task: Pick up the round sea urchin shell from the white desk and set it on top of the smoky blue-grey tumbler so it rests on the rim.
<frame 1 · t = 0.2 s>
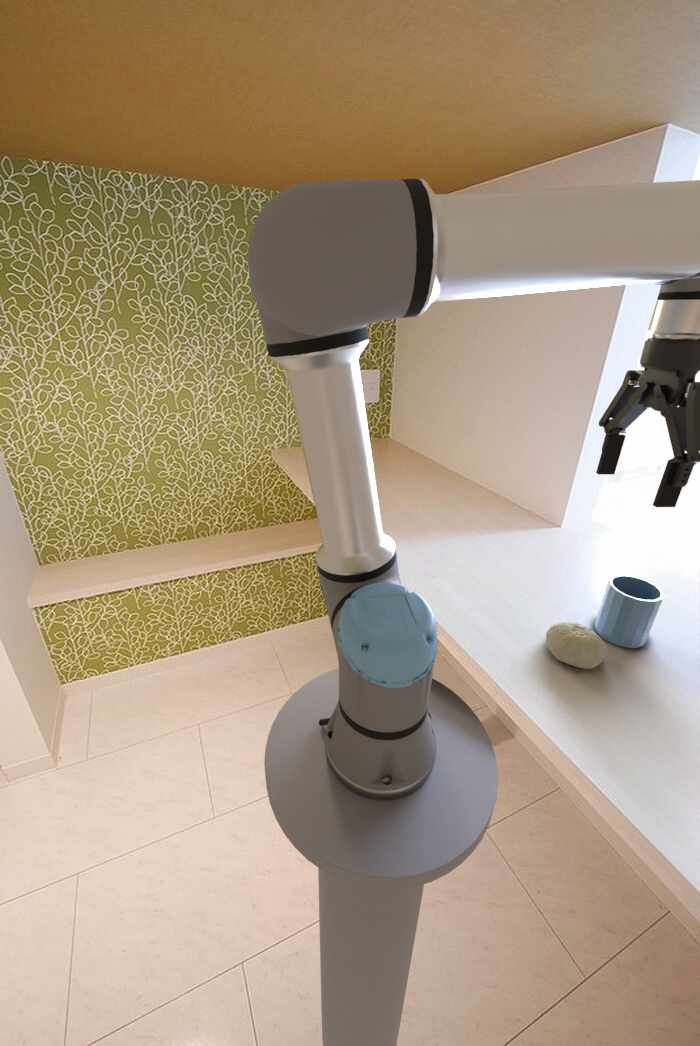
hand: (631, 488, 66), 29 cm above the table, tool pointing down, fingers open, 13 cm apart
tumbler: (619, 632, 80), on the table
sea urchin shell: (572, 654, 75), on the table
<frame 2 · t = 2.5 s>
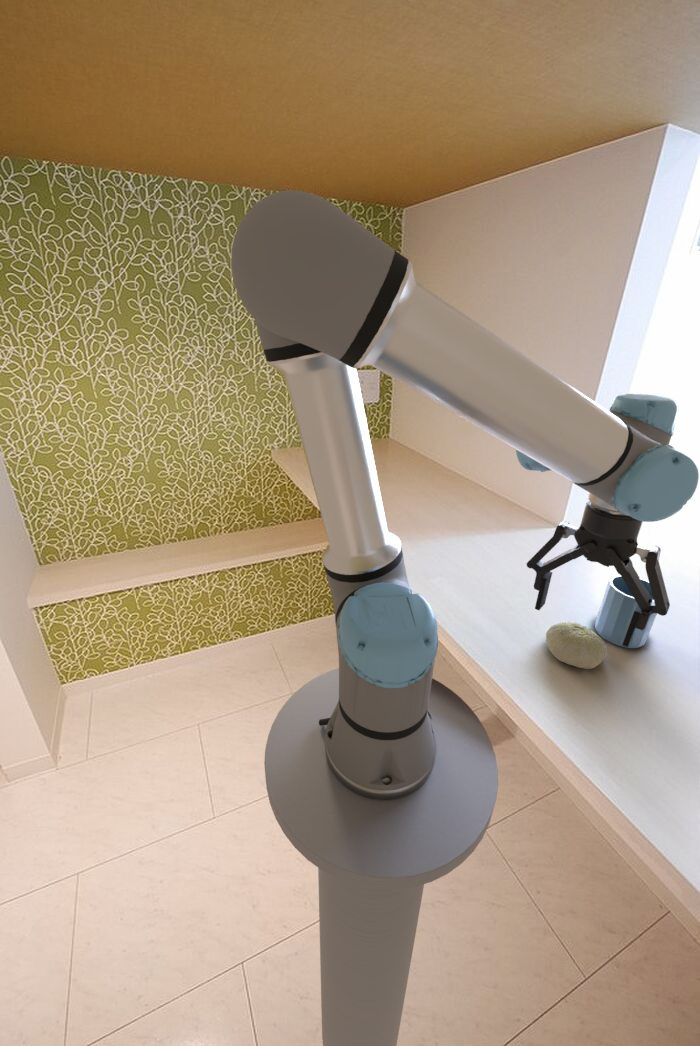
hand: (580, 623, 72), 6 cm above the table, tool pointing down, fingers open, 13 cm apart
nothing on the table moved.
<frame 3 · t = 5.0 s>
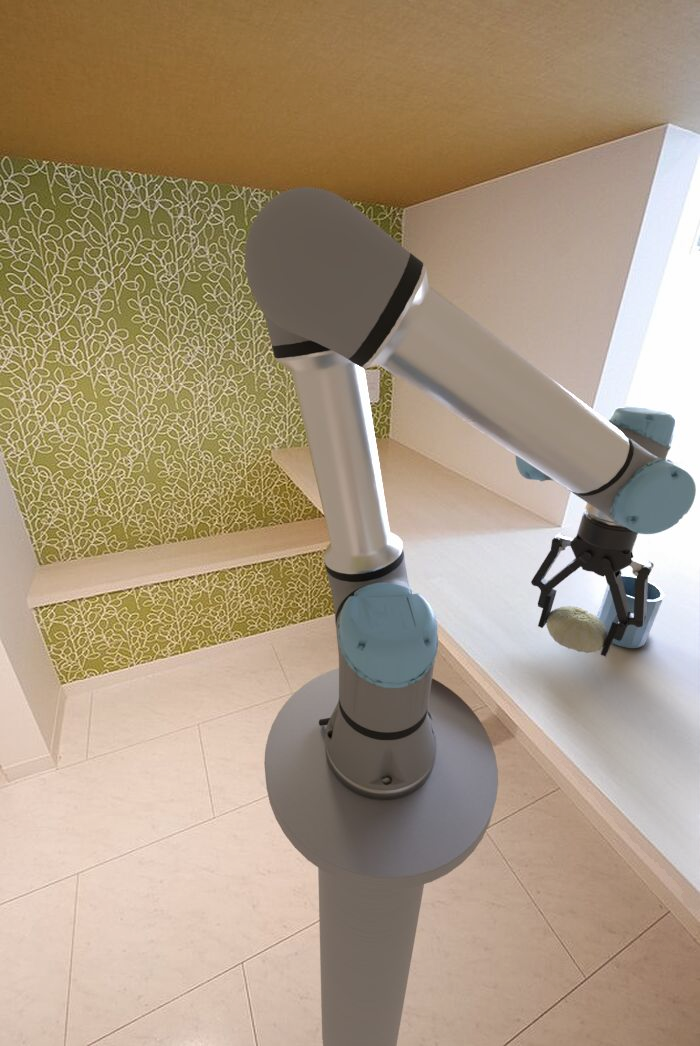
hand: (572, 636, 73), 4 cm above the table, tool pointing down, fingers closed on sea urchin shell, 9 cm apart
sea urchin shell: (572, 639, 73), point 3 cm above the table, touching gripper
everything else where it was.
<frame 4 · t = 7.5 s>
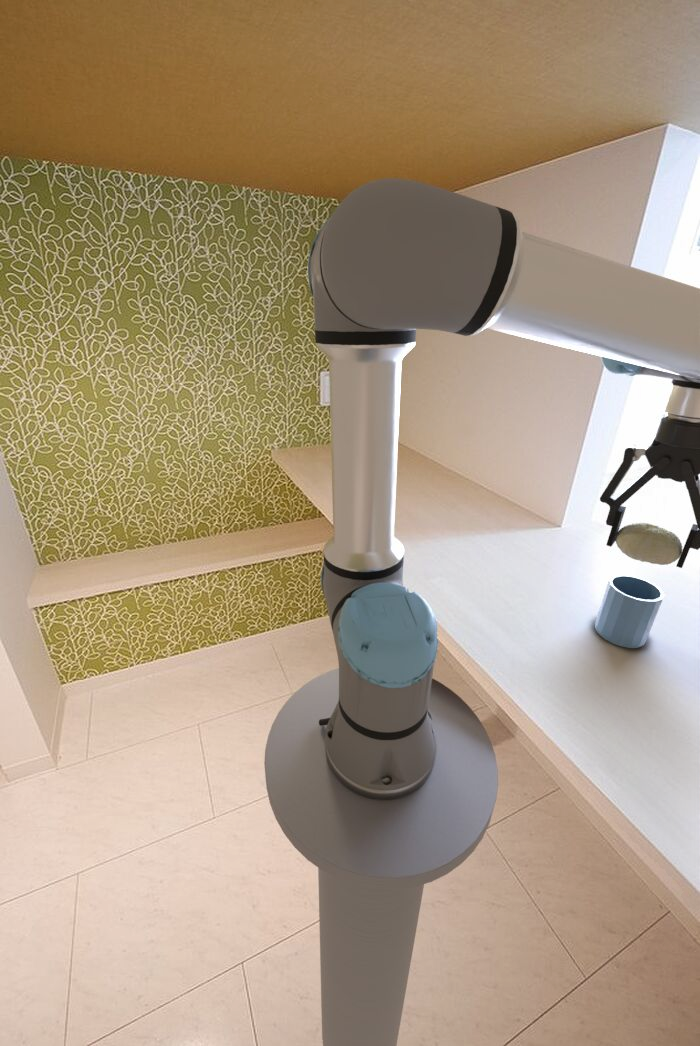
hand: (644, 553, 72), 17 cm above the table, tool pointing down, fingers closed on sea urchin shell, 9 cm apart
sea urchin shell: (644, 555, 72), point 17 cm above the table, touching gripper
everything else where it was.
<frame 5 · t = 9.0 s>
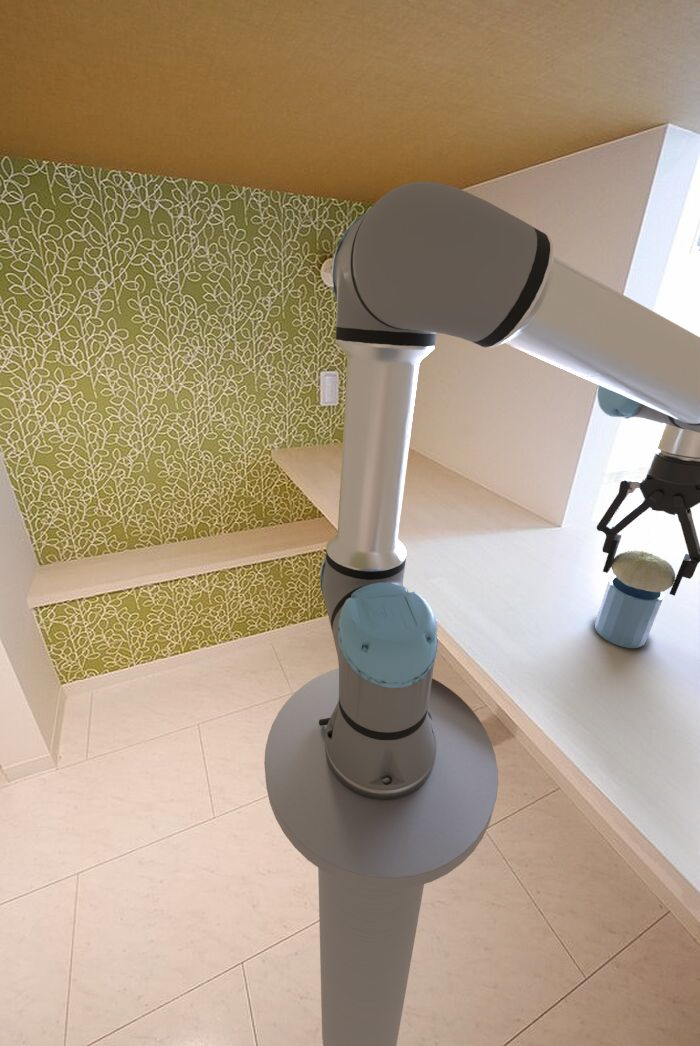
hand: (638, 579, 75), 12 cm above the table, tool pointing down, fingers closed on sea urchin shell, 9 cm apart
sea urchin shell: (639, 582, 75), point 11 cm above the table, touching gripper
everything else where it was.
when the fingers open (10 cm above the table, at t = 9.9 s): sea urchin shell stays where it is, resting on tumbler.
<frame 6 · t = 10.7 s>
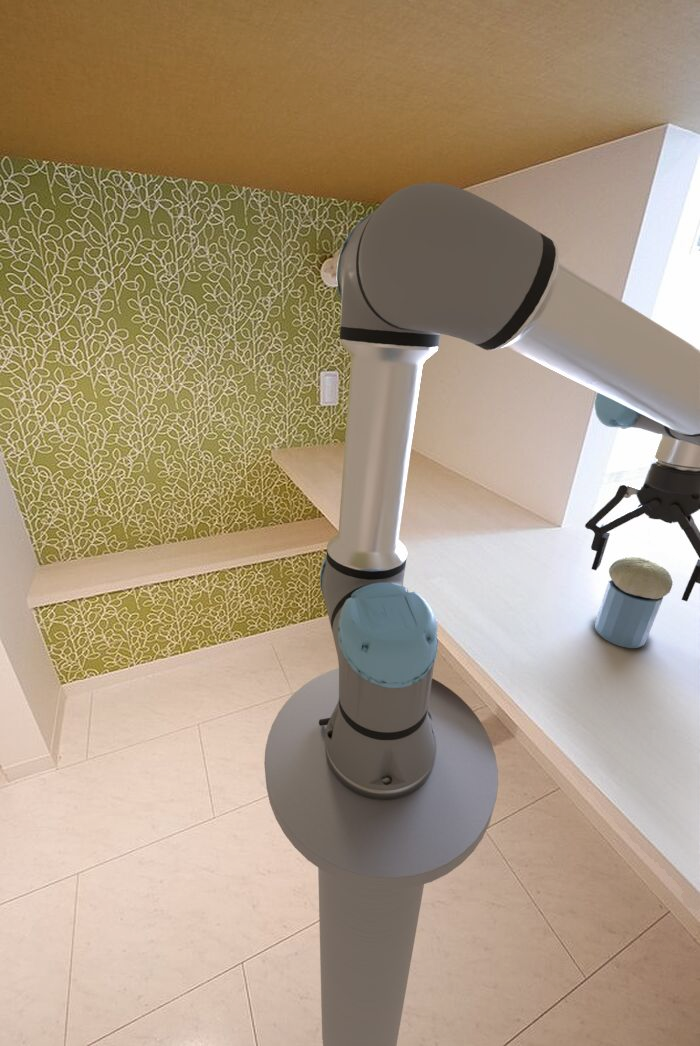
hand: (638, 581, 75), 11 cm above the table, tool pointing down, fingers open, 13 cm apart
tumbler: (619, 632, 80), on the table, touching sea urchin shell
sea urchin shell: (636, 588, 76), point 10 cm above the table, touching tumbler
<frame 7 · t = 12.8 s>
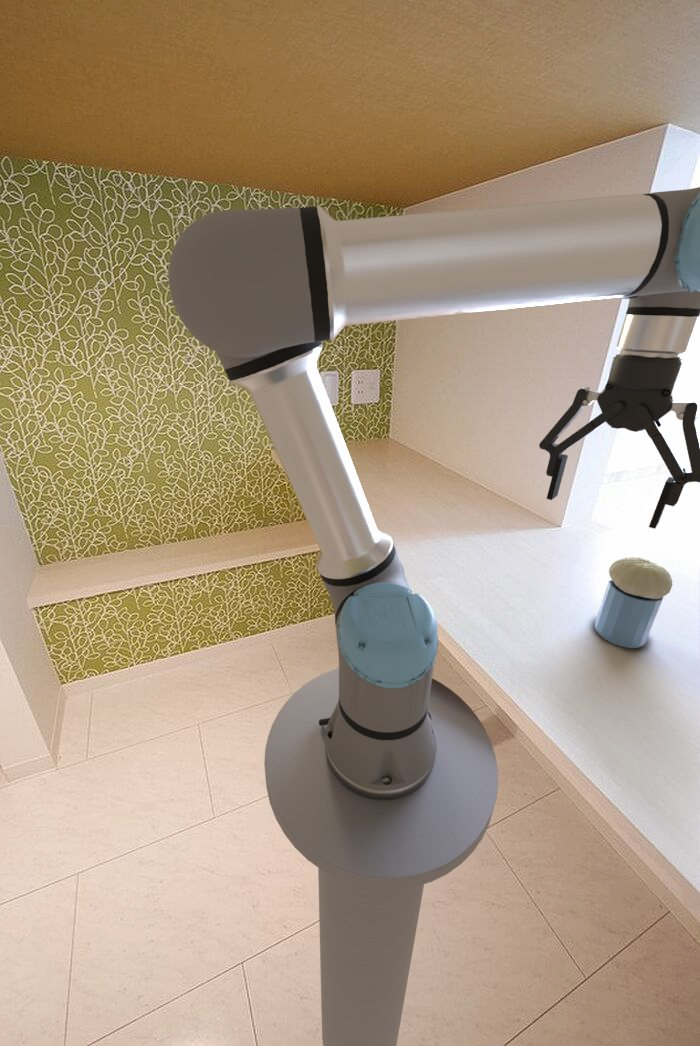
hand: (599, 510, 63), 27 cm above the table, tool pointing down, fingers open, 13 cm apart
nothing on the table moved.
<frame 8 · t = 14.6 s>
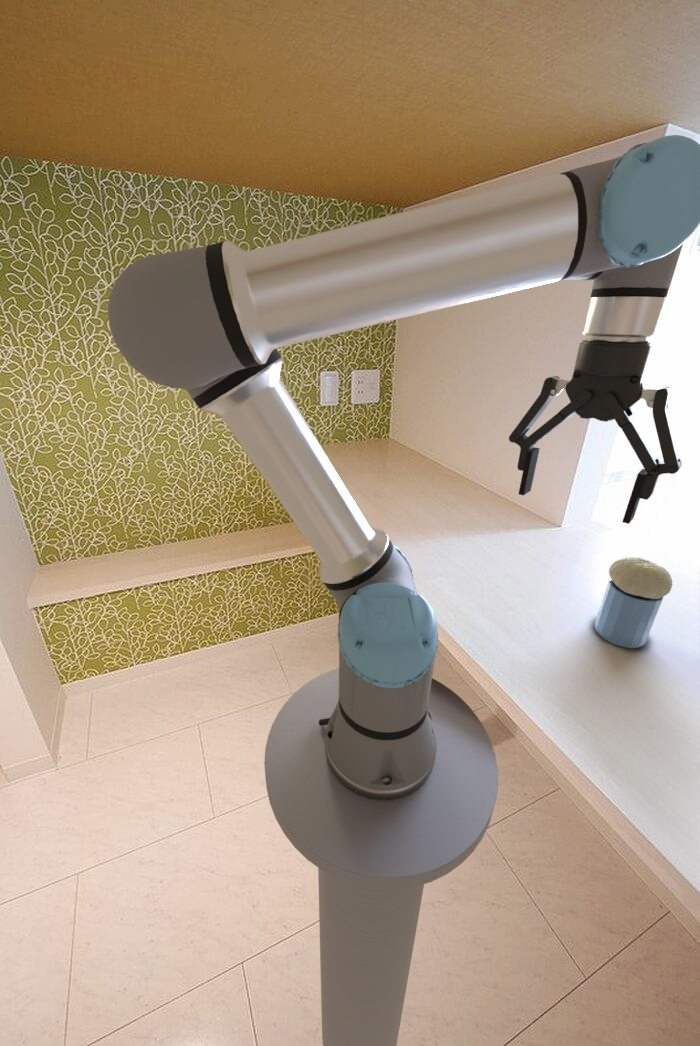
hand: (572, 505, 60), 29 cm above the table, tool pointing down, fingers open, 13 cm apart
nothing on the table moved.
at the end: sea urchin shell 0.1 cm off-centre on the tumbler, point 9.8 cm above the tumbler's base; tumbler tilted 0°; the gripper is holding nothing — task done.
